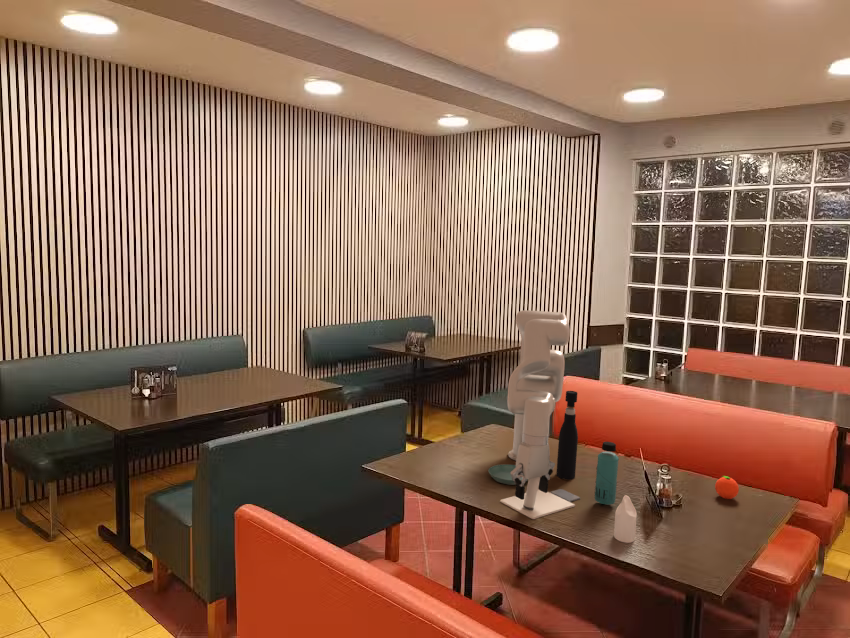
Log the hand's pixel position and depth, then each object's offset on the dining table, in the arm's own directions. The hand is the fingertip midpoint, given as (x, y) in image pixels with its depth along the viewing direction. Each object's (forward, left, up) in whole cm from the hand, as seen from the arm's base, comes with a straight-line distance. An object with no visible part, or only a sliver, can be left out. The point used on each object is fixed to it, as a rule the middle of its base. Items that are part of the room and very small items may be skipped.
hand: (531, 494), depth 180 cm
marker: (0, -1, -4) cm, 4 cm away
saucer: (-13, -23, -6) cm, 27 cm away
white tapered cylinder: (-11, +25, -6) cm, 28 cm away
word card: (-18, -3, -5) cm, 19 cm away
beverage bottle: (-24, +8, -6) cm, 26 cm away
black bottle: (-32, -15, -6) cm, 36 cm away
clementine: (-65, +24, -6) cm, 69 cm away
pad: (-6, -3, -5) cm, 8 cm away
